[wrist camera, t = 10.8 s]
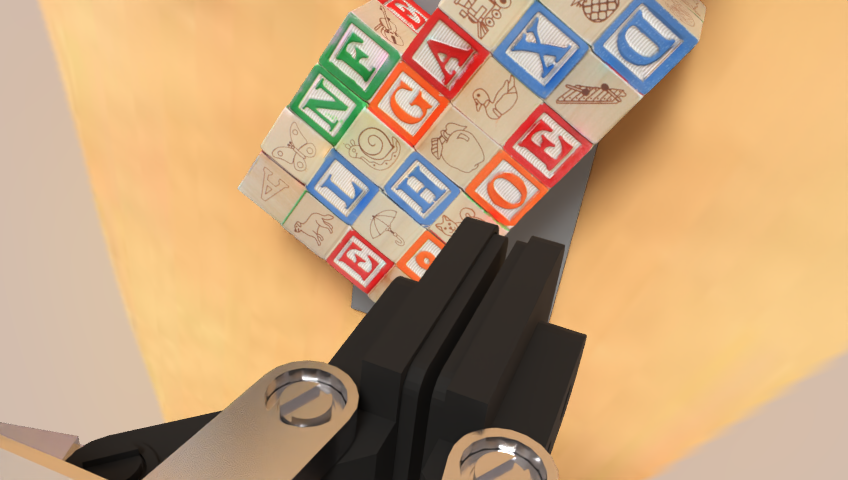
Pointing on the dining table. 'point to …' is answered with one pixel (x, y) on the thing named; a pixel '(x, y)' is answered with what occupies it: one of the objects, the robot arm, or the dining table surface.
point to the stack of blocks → (453, 120)
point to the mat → (532, 209)
